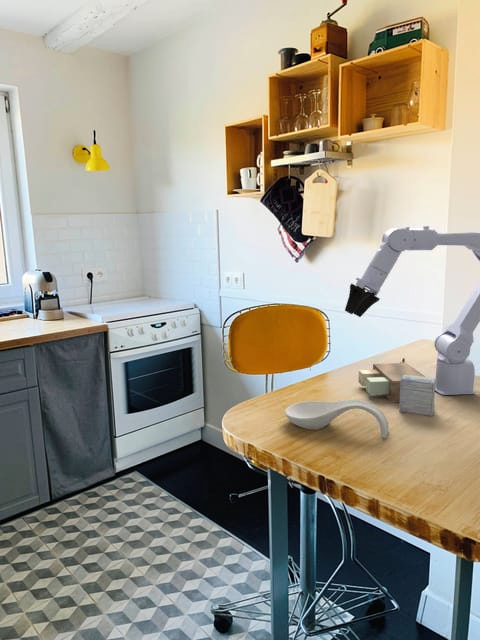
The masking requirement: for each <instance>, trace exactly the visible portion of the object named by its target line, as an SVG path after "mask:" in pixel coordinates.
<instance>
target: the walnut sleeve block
mask: <svg viewBox="0 0 480 640" xmlns="http://www.w3.org/2000/svg"><path fill="white" fill-rule="evenodd" d="M372 370H378V371H379V372H380V373H381V375H380V377H386V378H387V379H388V380H390V381H389V394H383V395H384V397H386V398H387V399H388V400H389V401H390V402H391V403H400V388H401V379H402V377H403V375H413V376H422V377H426V375H424V374H423V373H421V372H420V371H418V370H417V369H415V368H414V367H412V366H411V365H410V364H409V363H408V362H406V363H405V362H404V363H402V362H401V363H400V362H399V363H398V362H396V363H394V362H393V363H390V362H389V363H373V364H372Z"/></svg>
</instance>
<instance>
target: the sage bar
mask: <svg viewBox="0 0 480 640" xmlns="http://www.w3.org/2000/svg"><path fill="white" fill-rule="evenodd" d="M389 381H390V380H388V379H387V378H386V377H370V378H366V386H365V391H366V392H367V393H368V394H369V395H373V396H374V395H384V394H389Z"/></svg>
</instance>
